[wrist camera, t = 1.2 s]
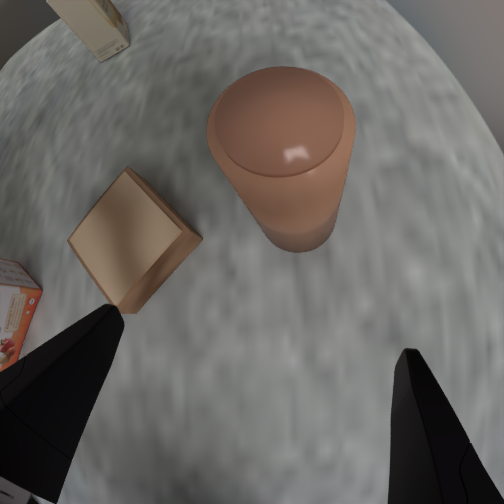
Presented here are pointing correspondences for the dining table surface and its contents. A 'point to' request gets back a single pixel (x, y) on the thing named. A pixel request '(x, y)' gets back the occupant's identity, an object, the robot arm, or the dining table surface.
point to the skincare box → (94, 25)
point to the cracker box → (15, 309)
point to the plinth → (132, 242)
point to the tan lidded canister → (285, 151)
